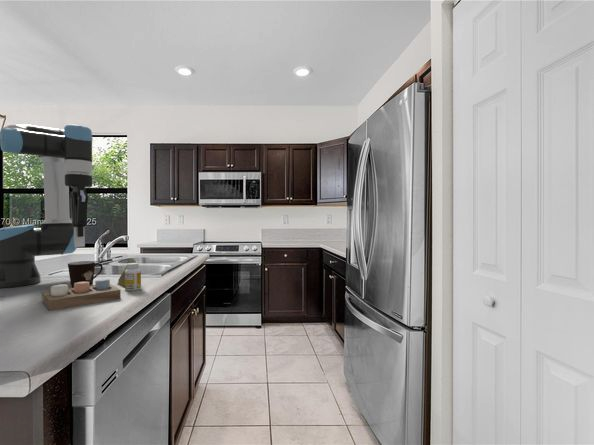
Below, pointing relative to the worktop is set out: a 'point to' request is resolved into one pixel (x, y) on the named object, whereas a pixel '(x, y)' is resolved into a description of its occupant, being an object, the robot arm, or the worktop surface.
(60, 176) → the robot arm
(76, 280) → the coffee mug
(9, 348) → the worktop surface
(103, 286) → the pale blue egg
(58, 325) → the worktop surface
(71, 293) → the brown wooden flat block
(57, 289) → the off-white egg
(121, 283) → the rock
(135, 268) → the supplement bottle
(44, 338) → the worktop surface
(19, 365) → the worktop surface
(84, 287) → the peach oval egg shape
